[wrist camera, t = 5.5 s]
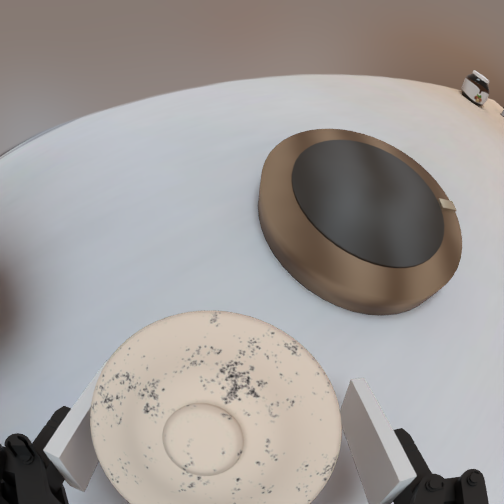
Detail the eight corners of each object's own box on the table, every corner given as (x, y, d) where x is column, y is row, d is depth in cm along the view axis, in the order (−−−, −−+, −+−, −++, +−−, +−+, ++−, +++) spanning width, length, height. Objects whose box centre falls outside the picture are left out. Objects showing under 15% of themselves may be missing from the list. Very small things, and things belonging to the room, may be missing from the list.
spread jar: (460, 95, 60) (471, 69, 51) (457, 87, 66) (466, 64, 56) (487, 113, 58) (499, 89, 48) (482, 104, 63) (492, 81, 53)
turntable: (253, 312, 19) (257, 292, 16) (260, 140, 30) (263, 115, 27) (465, 311, 20) (488, 295, 17) (412, 165, 30) (422, 146, 28)
